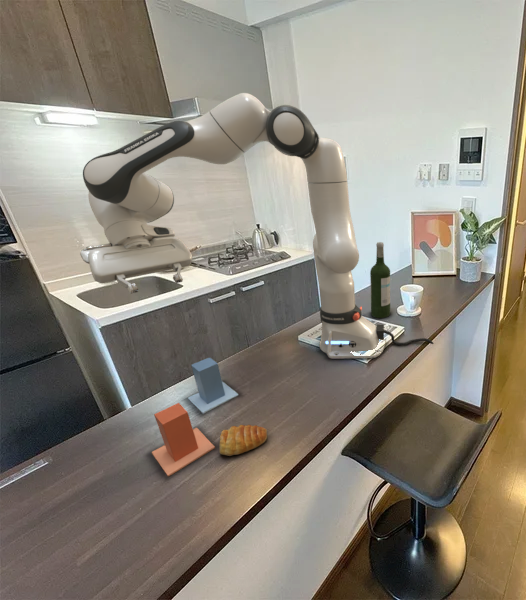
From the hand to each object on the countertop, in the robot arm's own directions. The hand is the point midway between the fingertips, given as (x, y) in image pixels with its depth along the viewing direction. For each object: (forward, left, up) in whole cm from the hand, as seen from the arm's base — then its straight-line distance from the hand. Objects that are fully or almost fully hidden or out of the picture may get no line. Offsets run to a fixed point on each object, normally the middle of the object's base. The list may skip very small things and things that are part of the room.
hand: (158, 286), depth 79 cm
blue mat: (-11, +3, -29) cm, 31 cm away
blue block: (-10, +4, -29) cm, 31 cm away
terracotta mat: (-16, +20, -29) cm, 39 cm away
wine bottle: (-44, -54, -30) cm, 76 cm away
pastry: (-27, +17, -30) cm, 43 cm away
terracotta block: (-16, +20, -29) cm, 39 cm away
